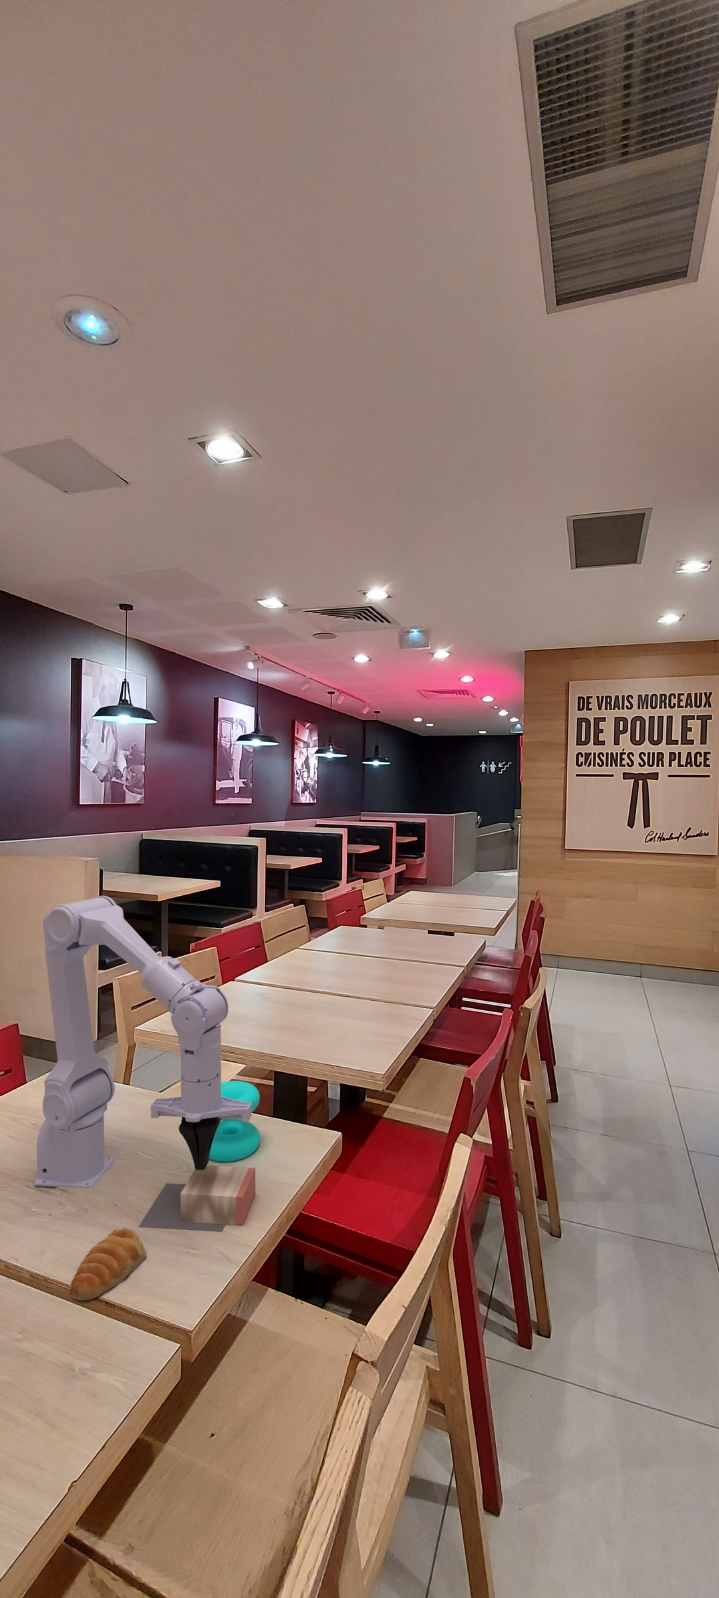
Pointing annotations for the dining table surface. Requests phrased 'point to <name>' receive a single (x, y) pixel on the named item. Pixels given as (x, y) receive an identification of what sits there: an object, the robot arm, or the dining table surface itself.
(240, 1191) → the block
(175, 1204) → the mat
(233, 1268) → the dining table surface
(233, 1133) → the donuts
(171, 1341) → the dining table surface
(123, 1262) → the pastry
